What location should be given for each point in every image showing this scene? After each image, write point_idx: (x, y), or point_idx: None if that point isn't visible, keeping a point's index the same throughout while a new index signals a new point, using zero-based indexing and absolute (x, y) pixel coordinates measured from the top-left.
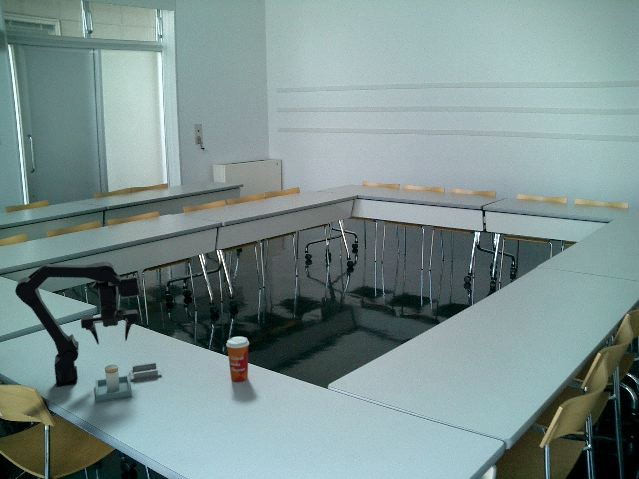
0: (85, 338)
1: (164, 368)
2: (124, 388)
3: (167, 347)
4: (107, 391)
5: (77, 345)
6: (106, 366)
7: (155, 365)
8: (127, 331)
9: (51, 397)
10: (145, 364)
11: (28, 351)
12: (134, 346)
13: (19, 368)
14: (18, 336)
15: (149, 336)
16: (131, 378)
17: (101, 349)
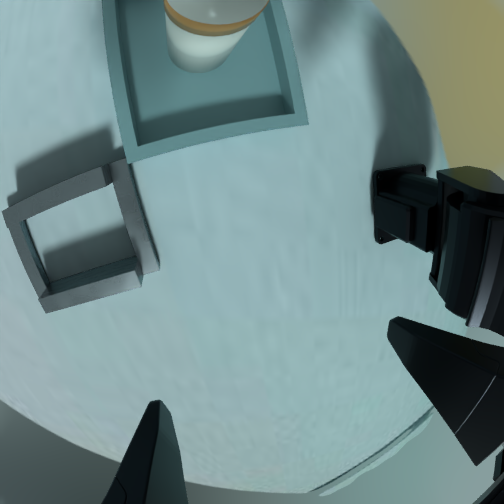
0: (336, 444)
1: (27, 292)
2: (143, 53)
3: (106, 434)
4: None
5: (488, 272)
6: (262, 1)
7: (44, 292)
8: (125, 484)
9: (418, 83)
10: (77, 291)
11: None
12: (211, 442)
13: None
14: (425, 413)
15: (189, 472)
16: (121, 164)
17: (302, 421)
